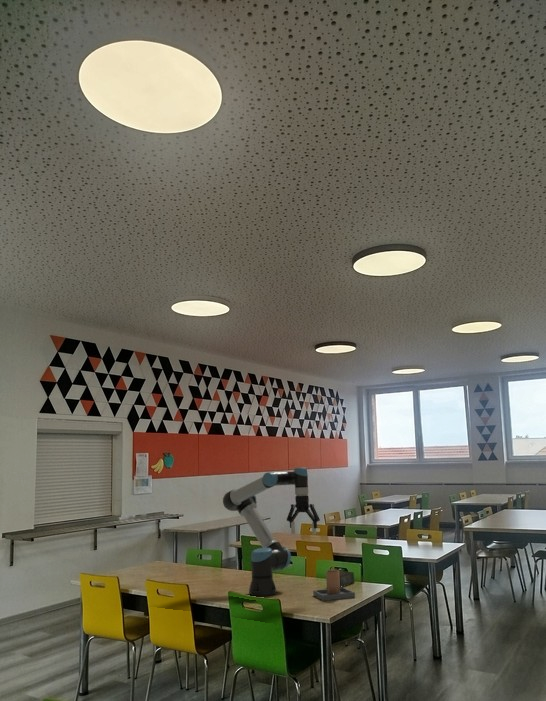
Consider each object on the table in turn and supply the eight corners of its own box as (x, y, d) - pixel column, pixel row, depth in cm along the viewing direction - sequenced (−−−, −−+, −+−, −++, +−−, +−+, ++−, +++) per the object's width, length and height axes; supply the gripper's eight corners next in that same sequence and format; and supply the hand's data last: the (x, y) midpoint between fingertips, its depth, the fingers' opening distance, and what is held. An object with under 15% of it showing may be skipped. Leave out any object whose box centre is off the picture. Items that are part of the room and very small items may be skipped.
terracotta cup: (325, 594, 297) (323, 569, 300) (337, 593, 299) (335, 568, 302) (330, 596, 291) (328, 571, 294) (342, 595, 293) (341, 570, 296)
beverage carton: (326, 587, 320) (325, 575, 322) (343, 582, 335) (342, 570, 337) (338, 588, 316) (337, 576, 317) (355, 583, 331) (354, 571, 332)
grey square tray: (313, 595, 299) (313, 590, 300) (343, 592, 304) (343, 587, 305) (323, 600, 286) (323, 595, 286) (355, 597, 291) (354, 592, 291)
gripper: (324, 494, 314) (326, 534, 309) (286, 495, 327) (288, 533, 322) (318, 495, 308) (320, 535, 303) (279, 495, 321) (281, 534, 316)
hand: (303, 534), depth 313 cm, fingers open, 13 cm apart
